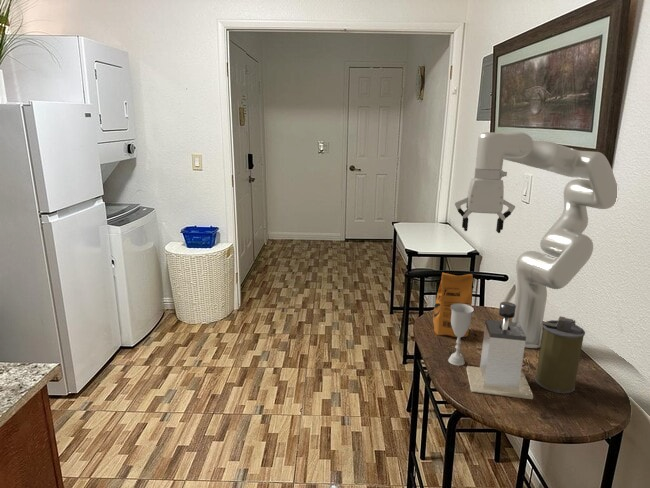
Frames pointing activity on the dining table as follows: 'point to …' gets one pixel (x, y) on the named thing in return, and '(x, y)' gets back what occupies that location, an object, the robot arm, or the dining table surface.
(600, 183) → the robot arm
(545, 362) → the canister
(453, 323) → the chalice
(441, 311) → the coffee package
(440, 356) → the dining table surface
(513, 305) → the plunger
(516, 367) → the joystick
